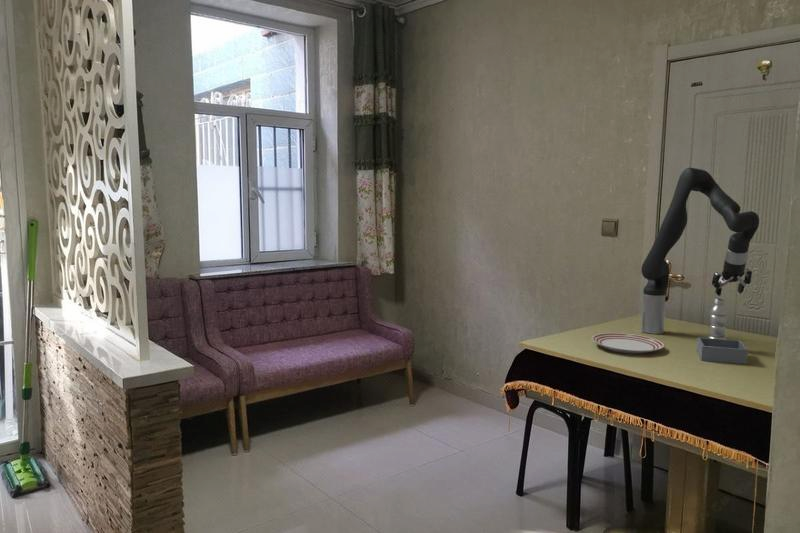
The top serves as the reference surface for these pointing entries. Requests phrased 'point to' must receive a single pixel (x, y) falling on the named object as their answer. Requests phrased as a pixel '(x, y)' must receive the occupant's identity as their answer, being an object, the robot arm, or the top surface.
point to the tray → (722, 350)
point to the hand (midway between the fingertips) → (728, 293)
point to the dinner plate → (627, 343)
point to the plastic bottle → (718, 319)
